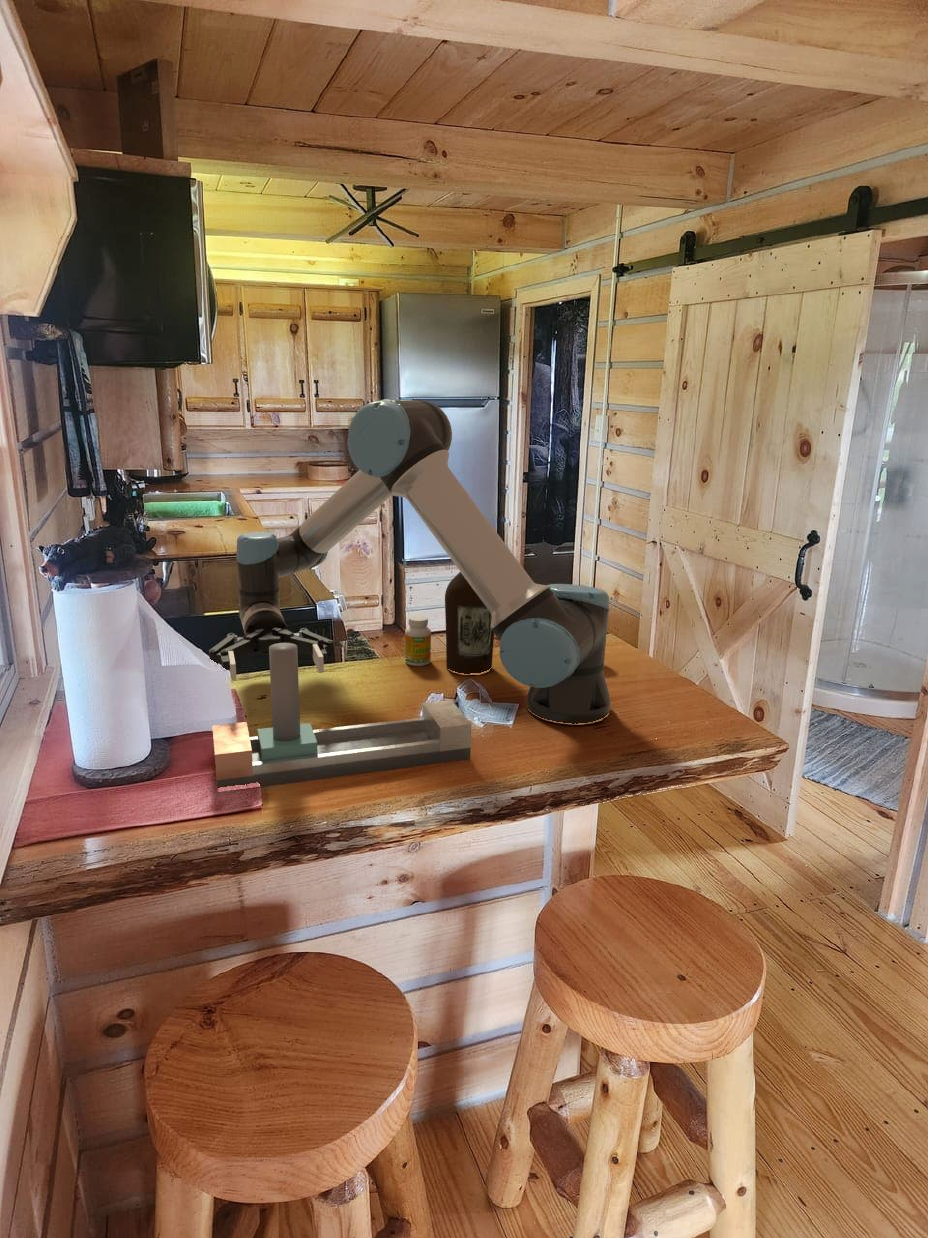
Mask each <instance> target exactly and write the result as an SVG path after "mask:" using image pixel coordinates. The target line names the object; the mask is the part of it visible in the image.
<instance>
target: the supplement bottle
mask: <svg viewBox="0 0 928 1238" xmlns="http://www.w3.org/2000/svg"><path fill="white" fill-rule="evenodd" d="M428 624H429V618H428V617H427V616H425V615H411V616H408V625H409V626H407V627H406V628H405V631H404V661H406V662H405V664H407V665H410V666H412V667H413V666H414V667H423V666H426V665H429V664H430V663H431V660H432V659H431V658H432V657H431V654H432V653H431V652H432V651H431V650H432V630H431V628H430V627H428ZM405 658H407V659H405Z"/></svg>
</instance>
